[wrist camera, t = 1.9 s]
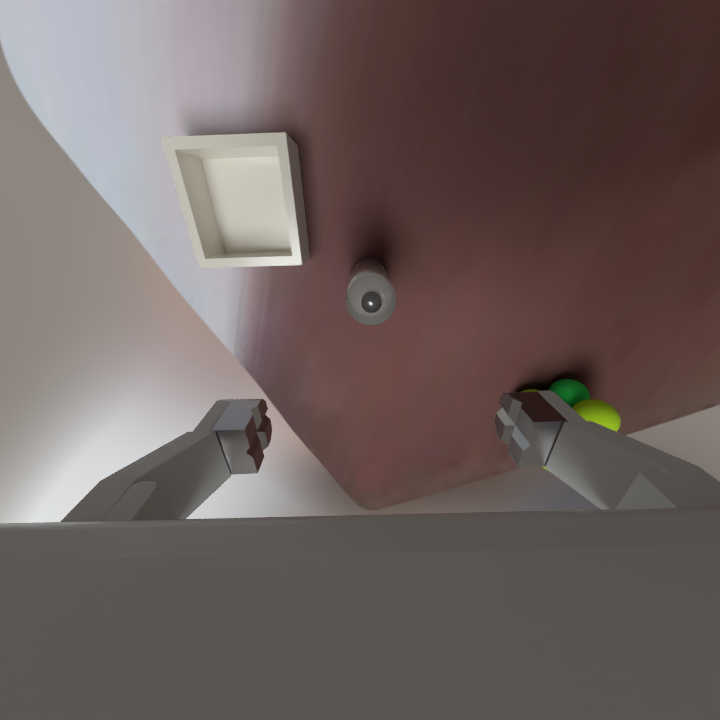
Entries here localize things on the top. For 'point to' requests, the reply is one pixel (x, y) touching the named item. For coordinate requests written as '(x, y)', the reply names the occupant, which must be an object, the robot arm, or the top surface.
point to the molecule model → (584, 403)
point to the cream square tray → (241, 198)
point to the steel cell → (370, 293)
